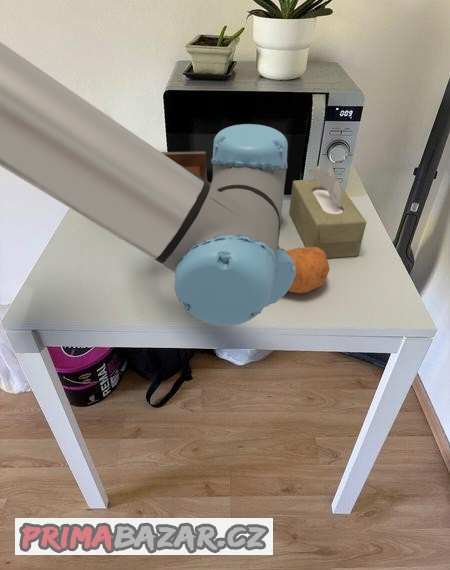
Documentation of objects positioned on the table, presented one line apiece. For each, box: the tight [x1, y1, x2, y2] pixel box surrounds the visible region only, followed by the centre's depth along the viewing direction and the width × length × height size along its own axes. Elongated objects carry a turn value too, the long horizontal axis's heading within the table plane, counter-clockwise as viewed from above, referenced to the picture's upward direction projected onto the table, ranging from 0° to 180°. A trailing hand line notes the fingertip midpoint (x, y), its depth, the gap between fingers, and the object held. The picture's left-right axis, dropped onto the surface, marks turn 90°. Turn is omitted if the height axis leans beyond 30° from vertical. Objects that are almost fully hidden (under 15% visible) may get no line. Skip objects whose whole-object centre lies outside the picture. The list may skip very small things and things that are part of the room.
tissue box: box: [288, 162, 367, 259], centre depth 90 cm, size 19×10×16 cm, turn 7°
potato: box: [285, 246, 330, 294], centre depth 79 cm, size 9×11×8 cm
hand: (129, 162), depth 74 cm, fingers closed on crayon, 4 cm apart
